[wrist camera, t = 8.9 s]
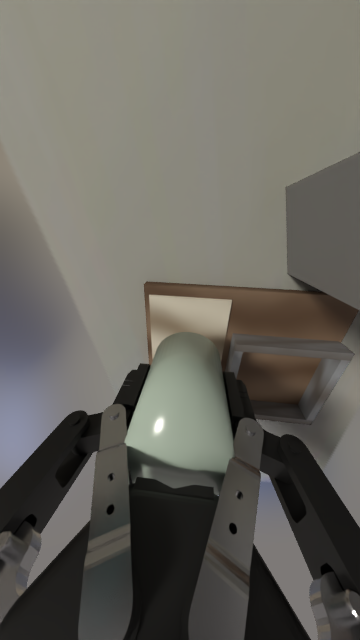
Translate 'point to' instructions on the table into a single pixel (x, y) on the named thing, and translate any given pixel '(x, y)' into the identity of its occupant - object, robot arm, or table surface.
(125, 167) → the table surface
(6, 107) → the table surface
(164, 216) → the table surface
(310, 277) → the perfume bottle
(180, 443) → the pale green rounded piece
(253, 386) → the wooden panel with label
